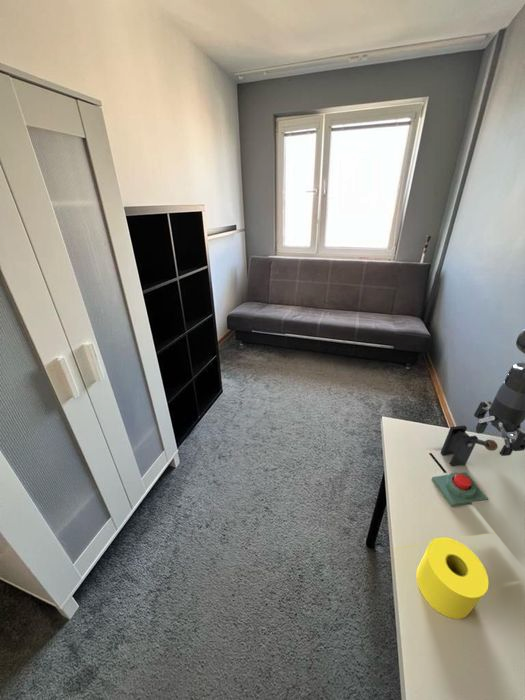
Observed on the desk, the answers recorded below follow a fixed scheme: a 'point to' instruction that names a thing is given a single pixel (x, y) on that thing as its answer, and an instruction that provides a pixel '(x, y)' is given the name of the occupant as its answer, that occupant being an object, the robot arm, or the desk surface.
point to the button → (462, 482)
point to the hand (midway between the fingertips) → (490, 443)
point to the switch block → (457, 490)
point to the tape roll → (451, 578)
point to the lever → (478, 441)
